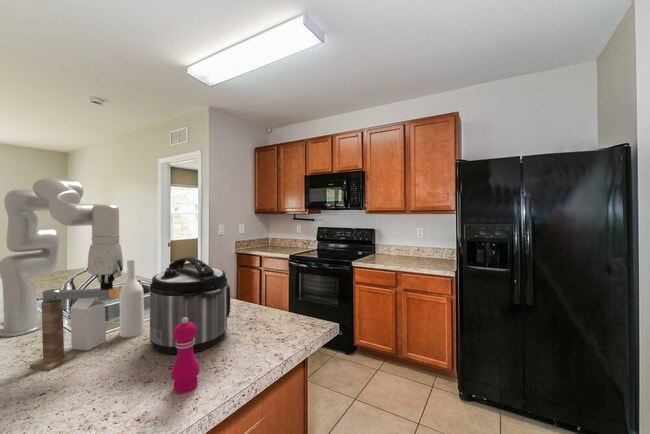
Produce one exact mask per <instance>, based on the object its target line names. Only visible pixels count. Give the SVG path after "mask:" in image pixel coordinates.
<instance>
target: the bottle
mask: <svg viewBox="0 0 650 434" xmlns="http://www.w3.org/2000/svg"><path fill="white" fill-rule="evenodd" d="M126 273H127V274H126V276H127V277H126V281H125V282H124V284H123V286H122V287H120V295H119V296H118V297H119V334H120V335H119V336H120V337H121V338H132V337H137V336H140V335H141V334H143V333H144V332H145V311H144V309H145V307H144V304H145V303H144V287H143V286H142V285H141V283H139V282H138V281H139V280H137V279H136V260H135V259H132V258H130V259H127V260H126Z"/></svg>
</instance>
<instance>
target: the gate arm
mask: <svg viewBox="0 0 650 434" xmlns="http://www.w3.org/2000/svg"><path fill="white" fill-rule="evenodd" d="M120 290H121V287H120V286H113V288H101V289H100V288H86V289H85V288H84V289H83V288H82V289H63V290H62V289H61V288H53V289H47V290H44V291H42V302H52V301H57V300H61V299H63V300H78V299H80V298H98V299H99V298H109V299H110V298H118V297H119V295H120Z"/></svg>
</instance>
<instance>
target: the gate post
mask: <svg viewBox="0 0 650 434" xmlns="http://www.w3.org/2000/svg"><path fill="white" fill-rule="evenodd" d="M63 300H64V299H61V300H57V301H52V302H43V301H41V304H40V305H41V323H42V327H41V331H42V333H41V334H42V338H41V339H42V359H38V360H37V361H35V362H32V363H31V364H30V363H29V368H30V369H37V370H44V371H45V370H46V371H52V370H55V369H56V368H59V367H60V366H62V365H64V364H66V363H68V362H70V361H72V360H74V359H76V358H77V354H73V353H65V343H64V342H65V341H64V313H63V312H64V309H63V306H64V305H63V304H64V303H63Z"/></svg>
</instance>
